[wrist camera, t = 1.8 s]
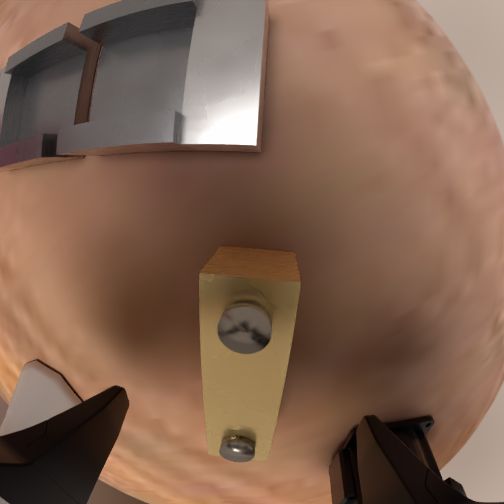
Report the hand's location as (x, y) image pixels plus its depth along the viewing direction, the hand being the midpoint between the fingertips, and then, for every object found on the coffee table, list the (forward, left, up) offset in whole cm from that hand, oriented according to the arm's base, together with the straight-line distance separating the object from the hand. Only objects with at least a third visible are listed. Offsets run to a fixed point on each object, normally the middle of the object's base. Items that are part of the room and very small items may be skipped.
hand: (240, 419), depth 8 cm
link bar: (0, 0, -5) cm, 5 cm away
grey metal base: (+8, -12, -4) cm, 15 cm away
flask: (+16, +9, -5) cm, 19 cm away
